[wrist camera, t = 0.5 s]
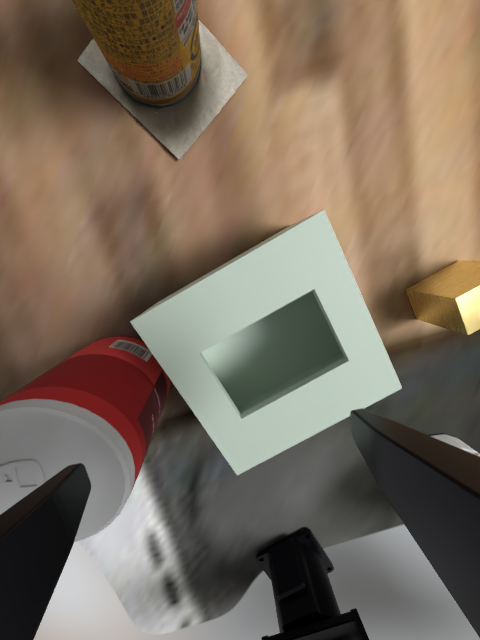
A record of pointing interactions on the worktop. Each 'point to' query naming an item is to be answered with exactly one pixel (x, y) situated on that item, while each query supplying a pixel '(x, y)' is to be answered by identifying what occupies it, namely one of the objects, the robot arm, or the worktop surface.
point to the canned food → (84, 426)
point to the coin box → (271, 344)
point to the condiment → (159, 65)
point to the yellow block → (449, 297)
